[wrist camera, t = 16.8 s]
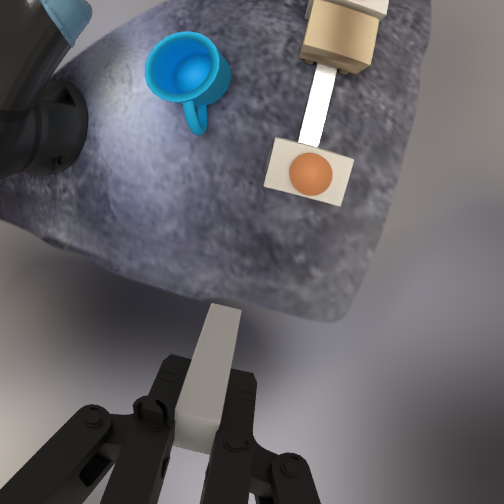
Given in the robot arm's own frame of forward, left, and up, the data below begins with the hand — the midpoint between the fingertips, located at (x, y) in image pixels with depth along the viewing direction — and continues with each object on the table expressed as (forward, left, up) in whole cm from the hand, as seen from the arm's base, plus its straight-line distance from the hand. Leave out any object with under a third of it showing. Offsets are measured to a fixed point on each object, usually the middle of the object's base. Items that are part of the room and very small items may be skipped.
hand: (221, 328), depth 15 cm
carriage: (+5, +22, -26) cm, 35 cm away
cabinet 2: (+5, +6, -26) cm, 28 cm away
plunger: (+5, +7, -21) cm, 22 cm away
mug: (-10, +13, -27) cm, 31 cm away
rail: (+5, +17, -26) cm, 32 cm away
